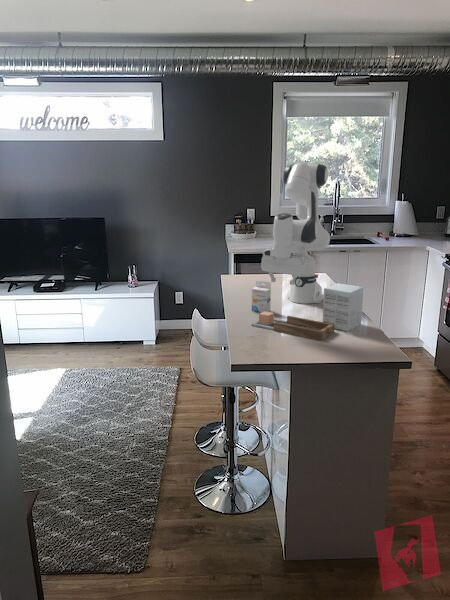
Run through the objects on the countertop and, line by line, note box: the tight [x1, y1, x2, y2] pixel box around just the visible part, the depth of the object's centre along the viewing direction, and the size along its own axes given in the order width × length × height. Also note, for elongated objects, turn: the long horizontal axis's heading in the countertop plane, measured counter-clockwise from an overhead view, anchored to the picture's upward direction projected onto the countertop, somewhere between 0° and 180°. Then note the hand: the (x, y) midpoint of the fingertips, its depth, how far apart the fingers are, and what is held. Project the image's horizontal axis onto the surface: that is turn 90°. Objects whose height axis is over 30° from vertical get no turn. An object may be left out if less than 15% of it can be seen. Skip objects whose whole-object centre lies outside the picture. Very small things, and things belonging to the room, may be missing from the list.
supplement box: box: [322, 282, 364, 332], centre depth 216 cm, size 13×13×18 cm
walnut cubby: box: [273, 315, 335, 341], centre depth 210 cm, size 13×22×4 cm, turn 53°
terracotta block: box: [258, 311, 275, 326], centre depth 220 cm, size 5×5×5 cm
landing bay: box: [251, 318, 287, 331], centre depth 220 cm, size 13×12×1 cm
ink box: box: [251, 280, 272, 313], centre depth 239 cm, size 8×5×15 cm, turn 60°
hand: (282, 283), depth 212 cm, fingers open, 8 cm apart
